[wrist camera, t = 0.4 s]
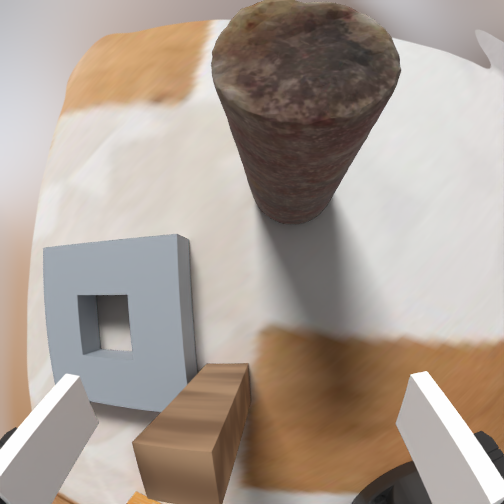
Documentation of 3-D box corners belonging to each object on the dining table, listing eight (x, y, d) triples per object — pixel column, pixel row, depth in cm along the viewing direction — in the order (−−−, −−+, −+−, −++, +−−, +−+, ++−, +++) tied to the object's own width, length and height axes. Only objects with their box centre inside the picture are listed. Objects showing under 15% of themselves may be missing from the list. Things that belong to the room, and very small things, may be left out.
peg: (250, 401, 27) (220, 509, 11) (210, 401, 27) (147, 498, 11) (248, 363, 27) (211, 451, 11) (206, 363, 27) (131, 442, 11)
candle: (309, 242, 28) (374, 155, 8) (238, 209, 28) (160, 77, 9) (341, 173, 28) (416, 20, 8) (273, 142, 29) (257, -30, 9)
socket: (200, 400, 27) (190, 414, 24) (74, 385, 28) (56, 393, 25) (188, 239, 29) (176, 233, 25) (62, 251, 30) (43, 247, 26)
